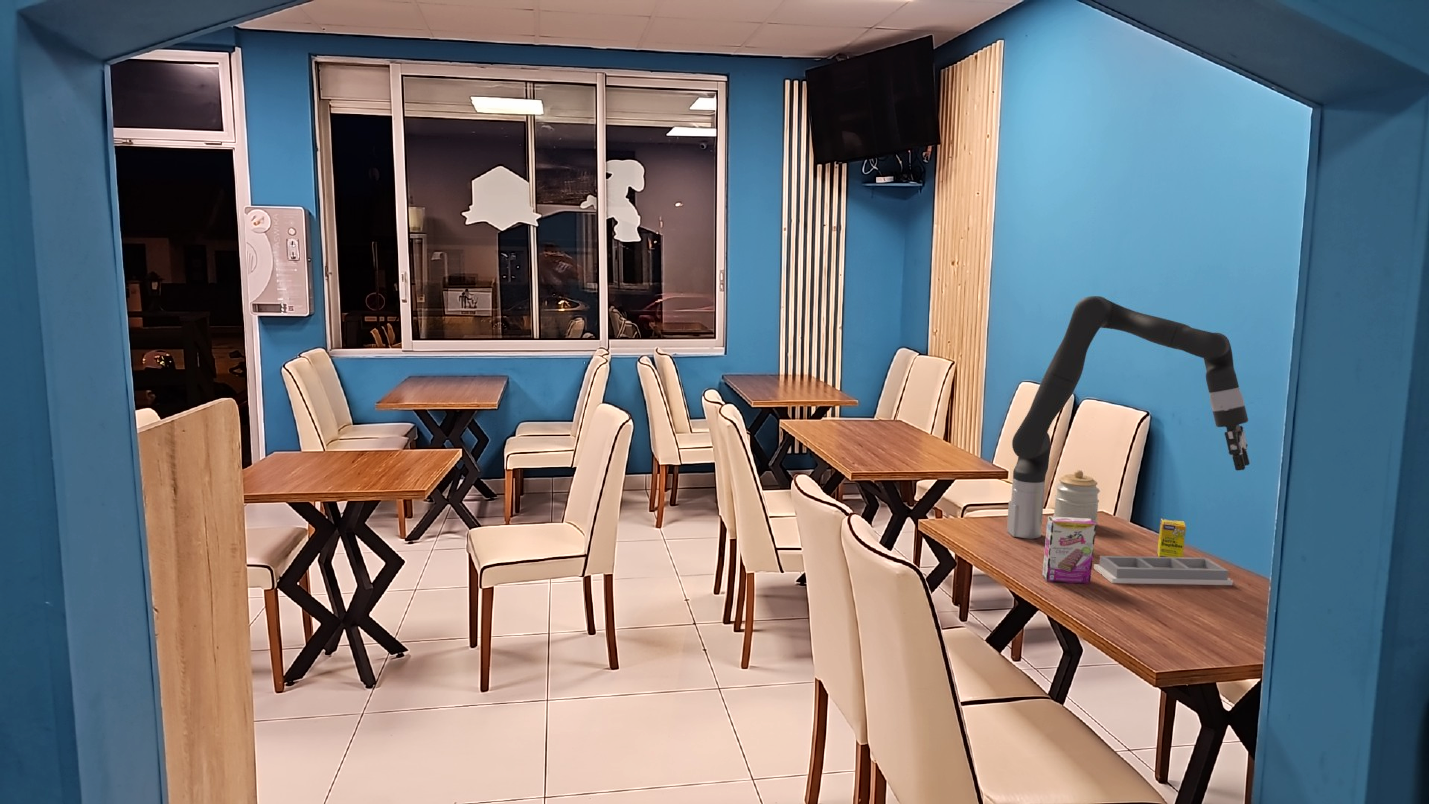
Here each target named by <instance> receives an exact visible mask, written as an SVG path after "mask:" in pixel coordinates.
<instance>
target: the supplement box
mask: <svg viewBox="0 0 1429 804" xmlns="http://www.w3.org/2000/svg"><path fill="white" fill-rule="evenodd" d="M1186 530H1187V527H1186V523H1185V521H1184V520H1183V521H1182V520H1171V519H1165V518H1160V523H1159V533H1158V534H1159V535H1158V543H1157V554H1156V557H1184V548H1185V539H1186V538H1185V537H1186Z"/></svg>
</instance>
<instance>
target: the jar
mask: <svg viewBox="0 0 1429 804" xmlns="http://www.w3.org/2000/svg"><path fill="white" fill-rule="evenodd" d="M1058 481H1059V483H1057V484H1056V485H1055V488H1056V494H1055V495H1054V498H1055V499H1054V501H1055V502H1054V513H1053V517H1070V518H1088V519H1091V520H1092V521H1094V522H1095V523H1096V525H1097V524H1098V510H1099V509H1098V508H1099V502H1100V501H1099V497H1098V494H1099V493H1100V492H1101V491H1100V488H1098V487H1097V485H1098V482H1097V481H1096V480H1095V479H1094V478H1093V477H1092V476H1088V475H1084V472H1083V471H1082V470H1080V469H1077V470H1075V472H1074V474H1065V475H1063V476H1062V477H1060V478H1058Z"/></svg>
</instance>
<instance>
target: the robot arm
mask: <svg viewBox="0 0 1429 804" xmlns="http://www.w3.org/2000/svg"><path fill="white" fill-rule="evenodd" d="M1100 329H1110V330H1115V331H1116V330H1117V331H1121V332H1125V333H1128V334H1130V335H1134V336H1136V337H1138V338H1141V339H1144V340H1145V341H1148V342H1151V343H1154V344H1157V345H1160V346H1163V347H1167V348H1170V349H1174V350H1179V351H1182V352H1185V353H1188V354H1190V355H1193V356H1195V357H1199V358H1201V359H1203V361H1204V362H1203V363H1204V366H1205V370H1206V372H1205V380H1206V381H1205V382H1206V386H1207V390H1208V393H1209V401H1210V407H1211V409H1212V410H1211V411H1212V415H1213V419H1214V424H1215V427H1216V428H1226V431H1224V436H1225V437H1224V438H1225V440H1226V445H1227V448H1228V449H1227V450H1228V454H1229V455H1230V456H1231V457H1232V461H1233V465H1234V468H1235V471H1237V472H1238V471H1244V470H1246V466H1249V465H1250V460H1249V455H1248V443H1247V439H1246V435H1245V431H1244V427H1243V424H1246V423H1248V422H1249V418H1248V414H1247V409H1246V406H1245V405H1246V404H1245V401H1244V397H1243V394H1242V391H1241V389H1240V386H1239V381H1238V377H1237V373H1236V370H1235V368H1234V367H1235V366H1234V358H1233V357H1234V356H1233V351H1232V344H1231V343H1230V340H1229V338H1228V337H1227V336H1226V335H1224V334H1222V333H1220V332H1211V331H1207V330H1201V329H1198V328H1194V327H1191V326H1190V325H1187V324H1185V323H1182V322H1177V321H1174V320H1171V319H1167V318H1162V317H1158V316H1154V315H1150V314H1146V313H1142V312H1138V311H1135V310H1132V309H1130V308H1127V307H1124V306H1122V305H1119V304H1118V303H1115V302H1113V301H1112V300H1109V299H1107V298H1105V297H1103V296H1099V295H1098V296H1097V295H1096V296H1094V295H1092V296H1087V297H1084V298H1082V299H1080V301H1078V302H1077V303H1076V304H1075V307H1074V308H1073V311H1072V314H1071V317H1070V321H1069V323H1068V326H1067V328H1066V332H1065V334H1064V337H1063V339H1062V340H1061V343H1060V345H1059V346H1058V347H1057V349H1056V351H1055V353H1054V355H1053V357H1052V359H1051V361H1050V363H1049V365H1048V367H1047V369H1046V371H1045V373H1044V375H1043V377H1042V380H1041V382H1040V384H1039V387H1038V389H1037V391H1036V394H1035V396H1034V398H1033V401H1032V403H1031V406H1030V408H1029V410H1028V412H1027V413H1026V416H1025V417H1024V419H1023V420H1022V422H1021V424H1020V425H1019V427H1018V429H1017V430H1016V432H1015V433H1014V435H1013V438H1012V441H1011V442H1012V443H1011V446H1012V450H1013V452H1014V454H1015V455H1016V456H1017V457H1018V458H1017V460H1016V461H1017V462H1016V465H1015V466H1014V469H1013V472H1012V484H1011V485H1012V486H1011V500H1009V501H1008V507H1007V508H1008V509H1007V510H1008V511H1007V524H1006V532H1007V533H1008V534H1009V535H1010V536H1012V537H1014V538H1015V537H1016V538H1021V539H1022V538H1023V539H1038V538H1041V536H1042V528H1043V527H1042V526H1043V525H1042V524H1043V513H1044V512H1043V511H1044V501H1045V498H1044V497H1045V487H1046V478H1047V477H1046V475H1047V473H1048V469H1049V465H1050V464H1049V461H1050V455H1051V445H1052V444H1051V437H1050V434H1049V429H1050V427H1051V425H1052V424H1053V422H1054V420H1055V418H1056V417H1057V416H1058V414H1059V413H1060V412H1061V410H1062V409H1063V408H1064V407H1065V405H1066V404H1067V403H1068V402H1069V400H1070V398H1071V396H1072V395H1073V393H1074V391H1075V389H1076V388H1077V385H1078V384H1079V381H1080V379H1081V377H1082V374H1083V370H1084V366H1085V361H1086V357H1087V354H1088V350H1089V347H1090V345H1091V343H1092V342H1093V340H1094V338H1095V336H1096V335H1097V333H1098V332H1099V330H1100Z"/></svg>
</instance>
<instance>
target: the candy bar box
mask: <svg viewBox="0 0 1429 804" xmlns="http://www.w3.org/2000/svg"><path fill="white" fill-rule="evenodd" d="M1046 522H1047V523H1046V531H1045V540H1044V541H1045V542H1044V554H1043V562H1042V563H1043V564H1042V574H1041V576H1042V577H1043V578H1044V580H1045V581H1046V582H1052V583H1053V582H1055V583H1067V584H1068V583H1069V584H1091V579H1092V578H1091V577H1092V571H1093V570H1092V569H1093V568H1092V567H1093V560H1094V559H1093V558H1094V550H1095V549H1094V548H1095V539H1096V531H1097V524H1096V523H1095V522H1094V521H1092V520H1091V519H1088V518H1070V517H1054V515H1052V516H1051V515H1050V516H1047V519H1046Z"/></svg>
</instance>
